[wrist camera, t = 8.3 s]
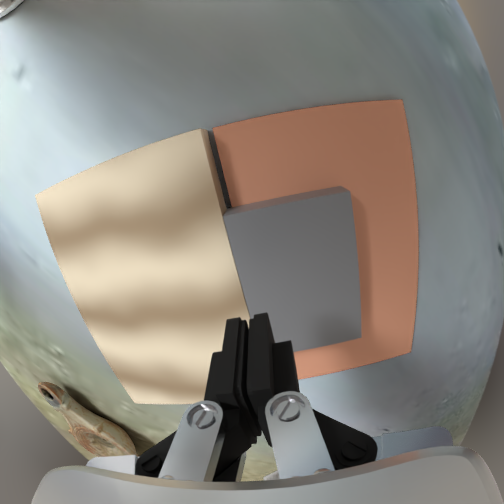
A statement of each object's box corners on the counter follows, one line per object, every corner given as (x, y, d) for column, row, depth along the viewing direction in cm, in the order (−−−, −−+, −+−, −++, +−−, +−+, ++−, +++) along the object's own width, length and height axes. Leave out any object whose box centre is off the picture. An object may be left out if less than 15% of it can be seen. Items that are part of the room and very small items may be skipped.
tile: (227, 208, 17) (222, 216, 15) (340, 185, 16) (350, 190, 14) (262, 339, 21) (261, 357, 19) (354, 321, 20) (361, 337, 18)
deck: (51, 189, 17) (35, 195, 16) (207, 130, 16) (199, 128, 14) (141, 388, 24) (135, 403, 22) (272, 380, 23) (272, 397, 21)
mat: (213, 128, 16) (212, 127, 15) (399, 100, 14) (402, 99, 14) (277, 379, 23) (277, 382, 22) (409, 349, 21) (410, 352, 21)
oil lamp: (139, 464, 32) (124, 513, 23) (37, 373, 26) (0, 424, 17) (180, 463, 31) (167, 521, 21) (66, 362, 24) (23, 426, 15)
